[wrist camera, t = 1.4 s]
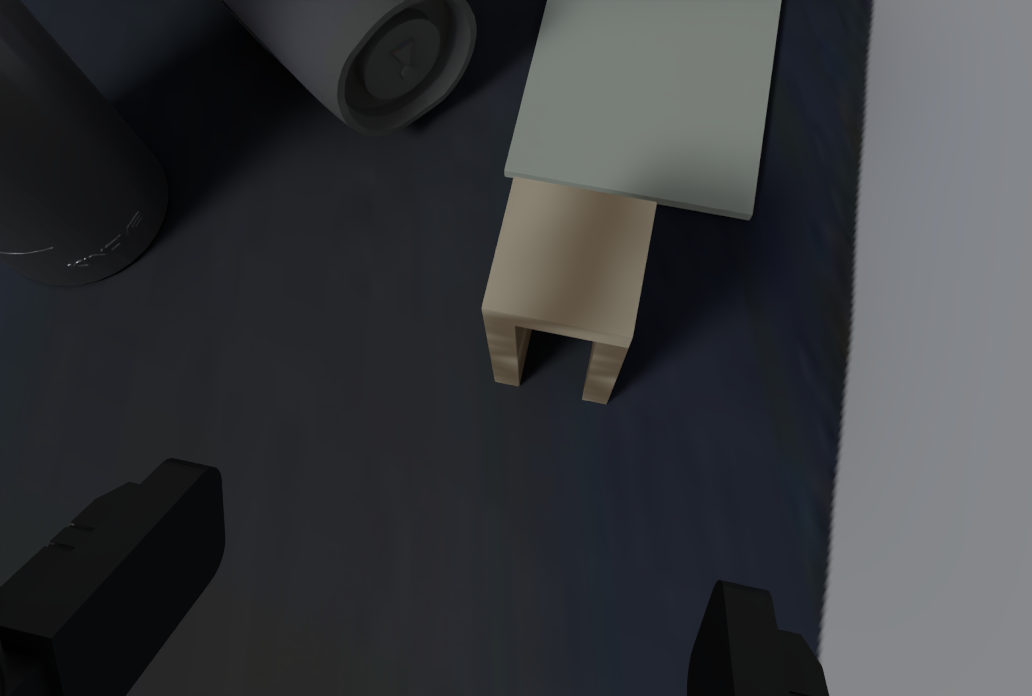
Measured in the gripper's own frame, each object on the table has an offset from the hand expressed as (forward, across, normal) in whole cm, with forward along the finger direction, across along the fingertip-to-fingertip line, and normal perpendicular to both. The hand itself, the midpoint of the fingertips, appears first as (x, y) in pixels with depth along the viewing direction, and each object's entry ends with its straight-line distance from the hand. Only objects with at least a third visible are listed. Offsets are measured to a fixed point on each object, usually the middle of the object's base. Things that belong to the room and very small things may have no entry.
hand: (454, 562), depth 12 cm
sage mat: (+36, -2, -4) cm, 37 cm away
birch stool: (+24, 0, +8) cm, 26 cm away
